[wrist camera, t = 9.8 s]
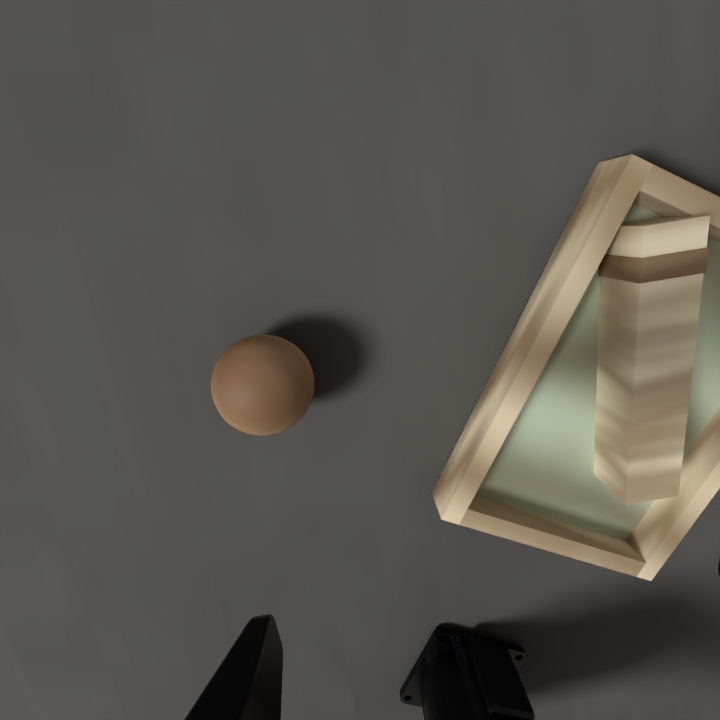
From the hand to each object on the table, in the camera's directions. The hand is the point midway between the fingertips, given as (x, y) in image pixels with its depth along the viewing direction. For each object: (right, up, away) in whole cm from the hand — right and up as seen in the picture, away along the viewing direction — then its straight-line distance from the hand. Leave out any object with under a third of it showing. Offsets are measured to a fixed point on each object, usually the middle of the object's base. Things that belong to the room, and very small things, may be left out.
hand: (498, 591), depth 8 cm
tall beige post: (+11, -2, +13) cm, 17 cm away
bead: (-7, +4, +12) cm, 15 cm away
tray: (+11, +3, +13) cm, 17 cm away
